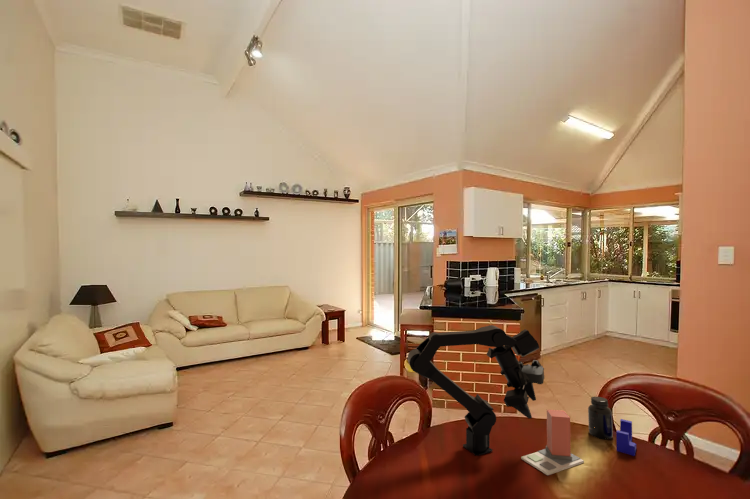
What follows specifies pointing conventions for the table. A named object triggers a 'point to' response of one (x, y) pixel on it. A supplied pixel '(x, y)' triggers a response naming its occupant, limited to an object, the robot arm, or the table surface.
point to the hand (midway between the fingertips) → (532, 408)
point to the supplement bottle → (600, 418)
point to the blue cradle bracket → (625, 438)
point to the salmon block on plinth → (558, 435)
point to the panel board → (550, 462)
